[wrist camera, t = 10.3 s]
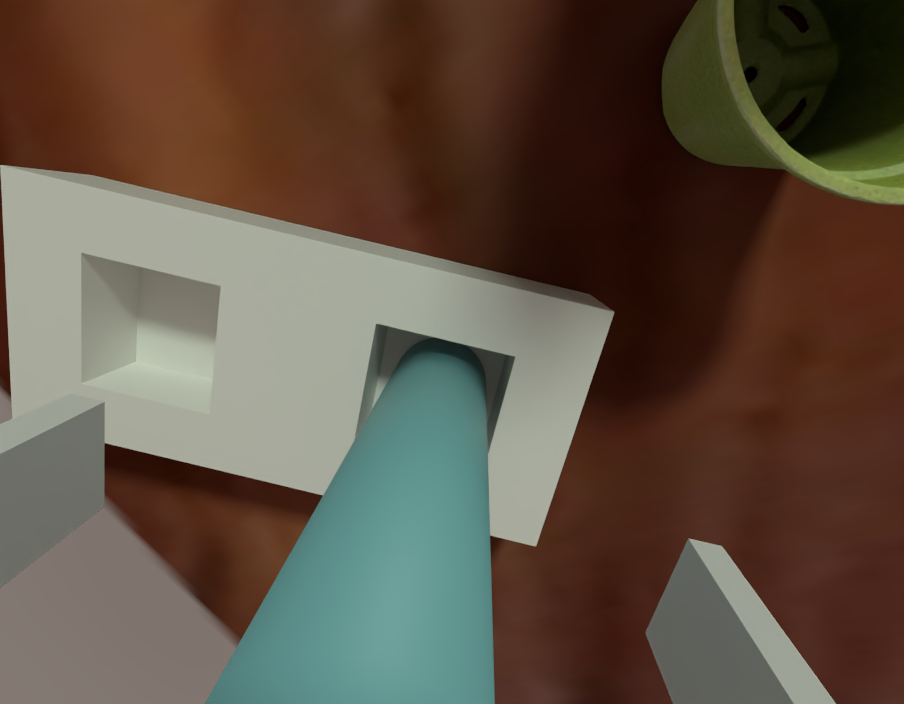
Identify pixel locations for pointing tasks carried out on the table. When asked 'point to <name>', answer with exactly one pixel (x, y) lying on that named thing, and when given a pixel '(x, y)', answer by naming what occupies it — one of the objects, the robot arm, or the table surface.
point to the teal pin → (388, 559)
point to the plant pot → (794, 91)
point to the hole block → (274, 336)
